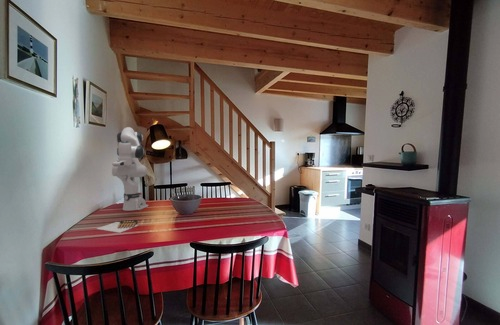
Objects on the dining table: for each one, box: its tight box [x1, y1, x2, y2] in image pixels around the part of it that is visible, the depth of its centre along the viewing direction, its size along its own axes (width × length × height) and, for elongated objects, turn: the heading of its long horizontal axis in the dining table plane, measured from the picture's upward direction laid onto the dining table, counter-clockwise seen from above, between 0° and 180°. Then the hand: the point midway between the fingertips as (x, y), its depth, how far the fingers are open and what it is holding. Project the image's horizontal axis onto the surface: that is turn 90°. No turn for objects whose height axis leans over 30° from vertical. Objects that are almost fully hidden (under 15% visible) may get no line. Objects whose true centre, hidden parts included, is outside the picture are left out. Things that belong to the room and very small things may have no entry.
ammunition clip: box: [117, 219, 138, 228], centre depth 165 cm, size 11×2×12 cm
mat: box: [96, 221, 140, 234], centre depth 162 cm, size 16×20×1 cm
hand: (125, 181), depth 179 cm, fingers closed
